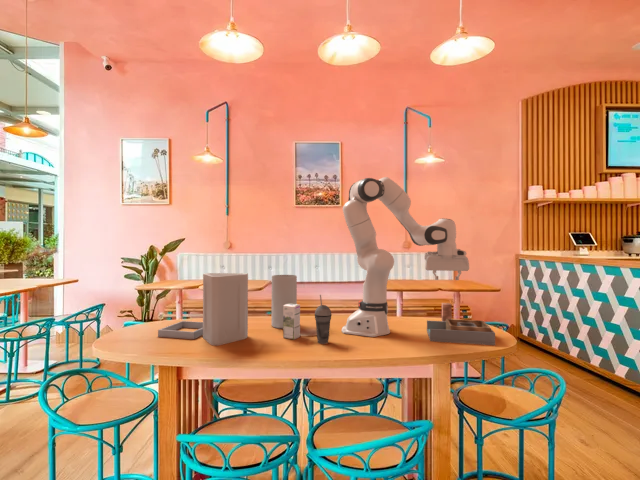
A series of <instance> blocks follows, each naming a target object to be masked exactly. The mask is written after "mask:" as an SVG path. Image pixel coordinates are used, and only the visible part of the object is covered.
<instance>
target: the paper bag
mask: <svg viewBox="0 0 640 480" xmlns="http://www.w3.org/2000/svg"><path fill="white" fill-rule="evenodd" d="M202 278H203V279H202V285H203V286H202V322H203V335H202V339H204V340H205V341H206V342H207V343H208V344H209V345H211V346H222V345H226V344H229V343H233V342H238V341H242V340H245V339H247V338H248V337H249V336H248V335H249V334H248V332H249V329H248V328H249V327H248V326H249V324H248V321H249V293H248V292H249V273H243V272H241V273H239V272H206V273H205V272H204V273H203V274H202Z"/></svg>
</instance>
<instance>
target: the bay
mask: <svg viewBox="0 0 640 480" xmlns="http://www.w3.org/2000/svg"><path fill="white" fill-rule="evenodd" d="M426 332H427V334H428V339H429V342H438V343H451V344H452V343H455V344H466V345H467V344H468V345H469V344H470V345H473V344H474V345H483V346H484V345H485V346H496V332H495V331H494V330H493V329H492V328H491V332H479V331H461V330H446V321H442V320H426Z"/></svg>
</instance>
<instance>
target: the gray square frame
mask: <svg viewBox="0 0 640 480" xmlns="http://www.w3.org/2000/svg"><path fill="white" fill-rule="evenodd" d="M182 328H185V329H186V328H188V329H196V330H194V331H186V330H180V329H182ZM157 337H159V338H170V339H172V338H173V339H183V340H184V339H186V340H195V339H197V338H199V337H203V321H192V320H191V321H189V320H181V321H179V322H176V323H173V324H170V325H168V326H165V327H162V328H159V329H158V330H157Z"/></svg>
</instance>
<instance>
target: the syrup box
mask: <svg viewBox="0 0 640 480" xmlns="http://www.w3.org/2000/svg"><path fill="white" fill-rule="evenodd" d="M282 331H283V333H282V334H283V335H282V337H283V339H287V340H288V339H290V340H297V339H298V338H300V337H301V304H300V303H299V304H298V303H297V304H286V305H284V306H283V328H282Z"/></svg>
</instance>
